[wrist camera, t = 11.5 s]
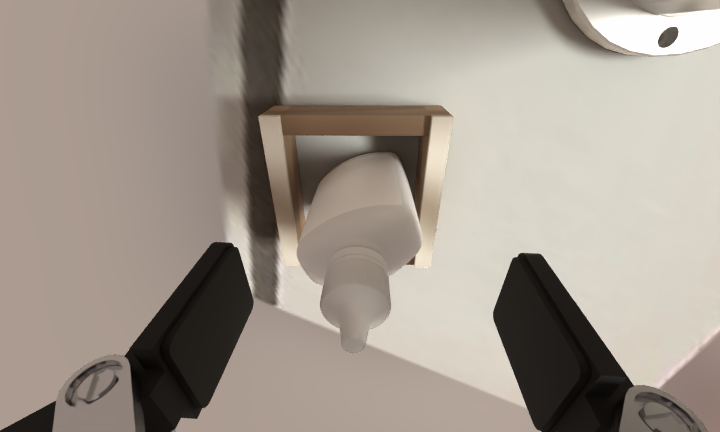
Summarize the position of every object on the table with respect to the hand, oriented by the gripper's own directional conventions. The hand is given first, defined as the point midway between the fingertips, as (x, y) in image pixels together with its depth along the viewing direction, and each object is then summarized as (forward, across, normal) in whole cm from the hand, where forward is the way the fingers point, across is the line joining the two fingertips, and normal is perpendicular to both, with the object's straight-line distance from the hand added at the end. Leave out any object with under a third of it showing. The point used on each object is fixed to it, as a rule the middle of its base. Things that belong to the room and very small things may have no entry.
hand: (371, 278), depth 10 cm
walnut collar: (+10, +1, +1) cm, 10 cm away
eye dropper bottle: (+10, +1, +1) cm, 10 cm away
